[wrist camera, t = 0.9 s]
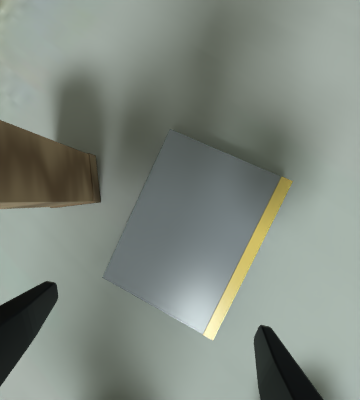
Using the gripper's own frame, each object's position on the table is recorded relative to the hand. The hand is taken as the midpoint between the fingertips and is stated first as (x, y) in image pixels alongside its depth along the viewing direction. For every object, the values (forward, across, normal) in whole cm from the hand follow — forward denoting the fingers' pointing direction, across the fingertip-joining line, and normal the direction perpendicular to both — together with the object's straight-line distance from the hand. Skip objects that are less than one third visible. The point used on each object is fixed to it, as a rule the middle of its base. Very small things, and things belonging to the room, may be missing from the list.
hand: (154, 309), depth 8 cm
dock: (+12, -1, +3) cm, 12 cm away
